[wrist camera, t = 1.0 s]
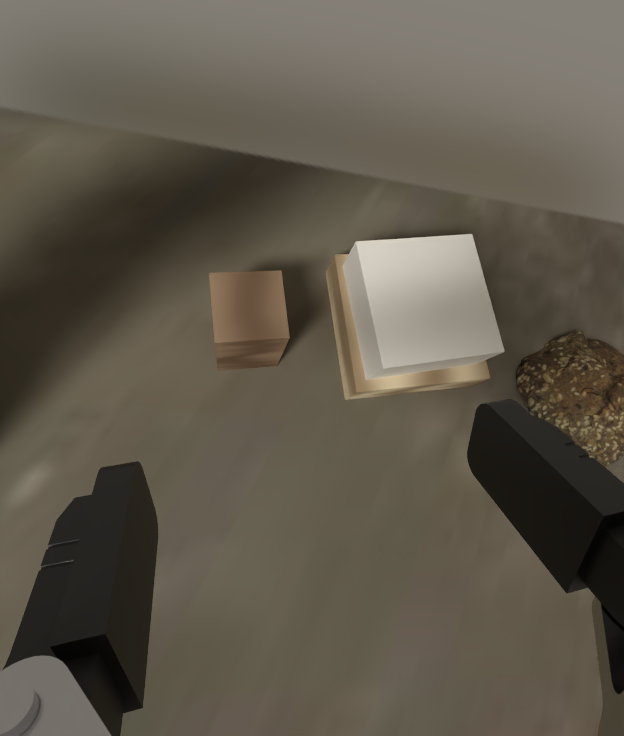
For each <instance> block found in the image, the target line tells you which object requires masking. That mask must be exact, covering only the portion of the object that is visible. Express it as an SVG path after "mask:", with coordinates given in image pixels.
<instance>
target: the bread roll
mask: <svg viewBox="0 0 624 736" xmlns="http://www.w3.org/2000/svg"><path fill="white" fill-rule="evenodd" d="M516 380H517V384H518V389H519V391H520V393H521V396H522V398H523V400H524V402H525V404H526V405H527V407H528V408H529V412H530V414H531V415H532V416H536V417H538V418H540V419H542V420H544V421H546V422H548V423H550V424H552V425H554V426H556V427H558V428H559V429H560V430H561V431H562V432H564V433H565V434H566V435H567V436H568V437H569V438H571V439H572V440H573V441H574V443H575V445H579V446H580V447H581V448H582V449H584V450H585V451H586V452H587V453H588V454H589V457H590V458H591V457H593V458H594V459H595V460H597V461H598V462H599V463H600V464H601V465H603V466H604V467H606V466H608V465H610V464H611V463H614V462H615V461H617V460H618V459H619V458H620V457H621V456H624V355H623V354H621V353H620V352H619V351H618V350H616V349H615V348H614V347H613V346H611V345H608V344H606V343H605V342H602V341H600V340H588V339H587V338H586V337H584V335H583V332H582V331H581V332H578V333H570V334H567V335H564V336H561V337H560V338H558V339H556V340H552V341H549V343H547V344H546V345H545V347H544V348H543V349H542V350H541V351H540V352H539V353H537V354H535V355H533V356H531V357H528V358H525V359H523V360H522V364H521V367H519V368H518V370H517V376H516Z"/></svg>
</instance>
